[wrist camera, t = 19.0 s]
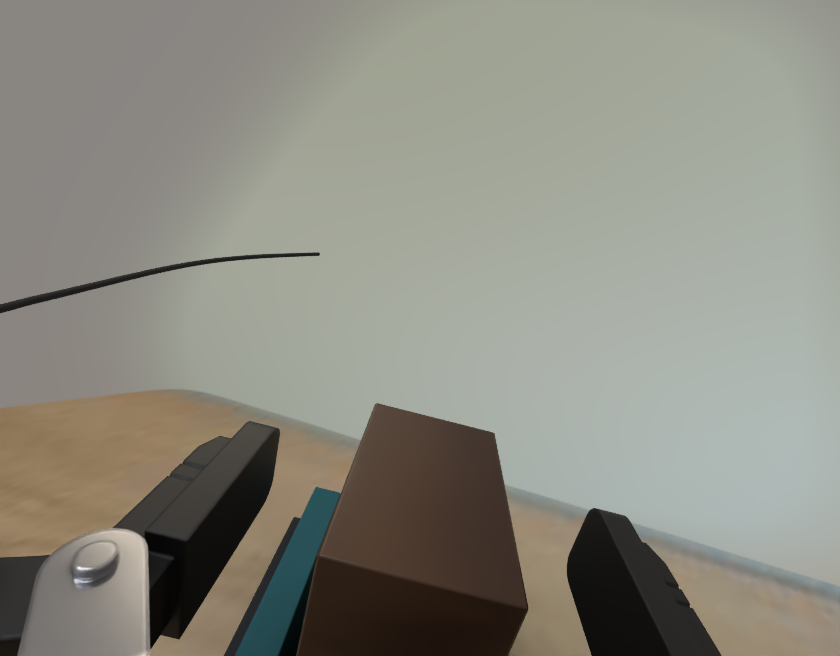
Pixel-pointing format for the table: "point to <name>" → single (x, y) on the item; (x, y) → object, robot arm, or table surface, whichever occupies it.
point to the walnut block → (417, 548)
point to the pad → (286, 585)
